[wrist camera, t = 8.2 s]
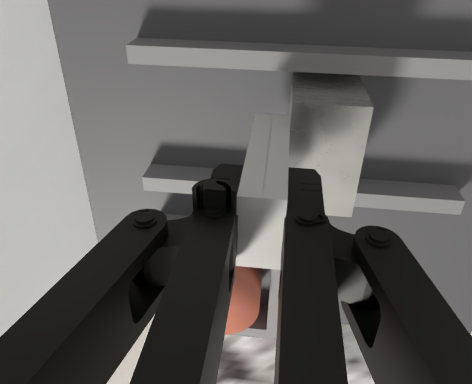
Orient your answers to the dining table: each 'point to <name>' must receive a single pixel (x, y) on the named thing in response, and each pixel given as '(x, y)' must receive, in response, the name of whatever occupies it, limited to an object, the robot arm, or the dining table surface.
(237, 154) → the switch panel
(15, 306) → the dining table surface
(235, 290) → the push button
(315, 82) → the slide paddle
